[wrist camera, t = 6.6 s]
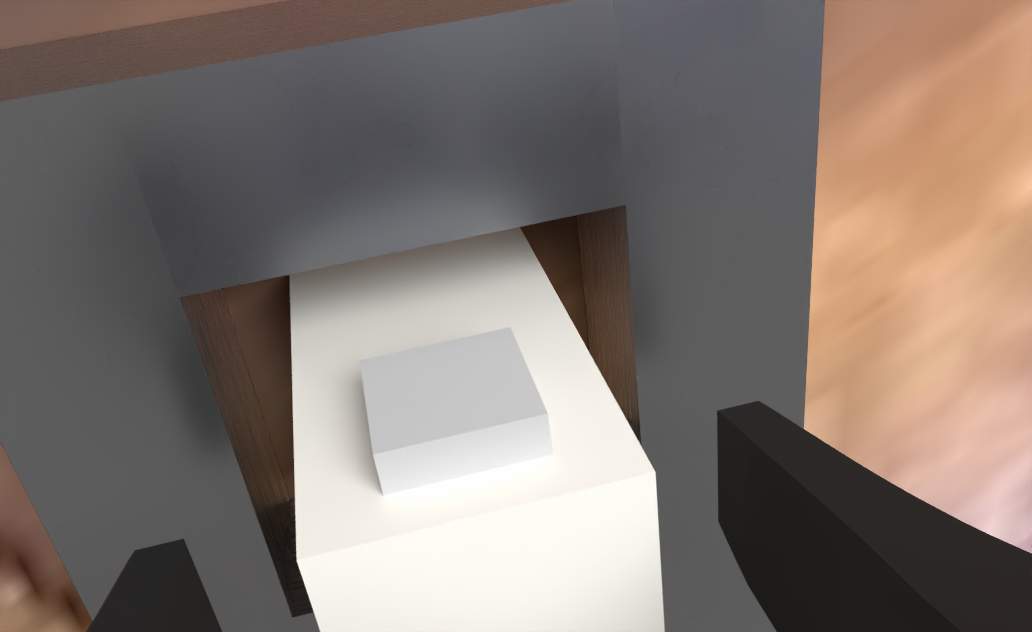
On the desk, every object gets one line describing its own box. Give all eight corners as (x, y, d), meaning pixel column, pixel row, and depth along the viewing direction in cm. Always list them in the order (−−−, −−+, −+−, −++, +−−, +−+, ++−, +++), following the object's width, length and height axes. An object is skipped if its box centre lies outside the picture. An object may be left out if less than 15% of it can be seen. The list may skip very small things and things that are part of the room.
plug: (541, 406, 18) (668, 701, 12) (340, 454, 18) (371, 786, 12) (513, 192, 16) (652, 428, 10) (280, 239, 16) (282, 518, 10)
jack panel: (731, 812, 27) (779, 919, 24) (316, 936, 25) (321, 1064, 23) (730, -75, 15) (827, -45, 12) (-76, 62, 13) (-162, 130, 11)
